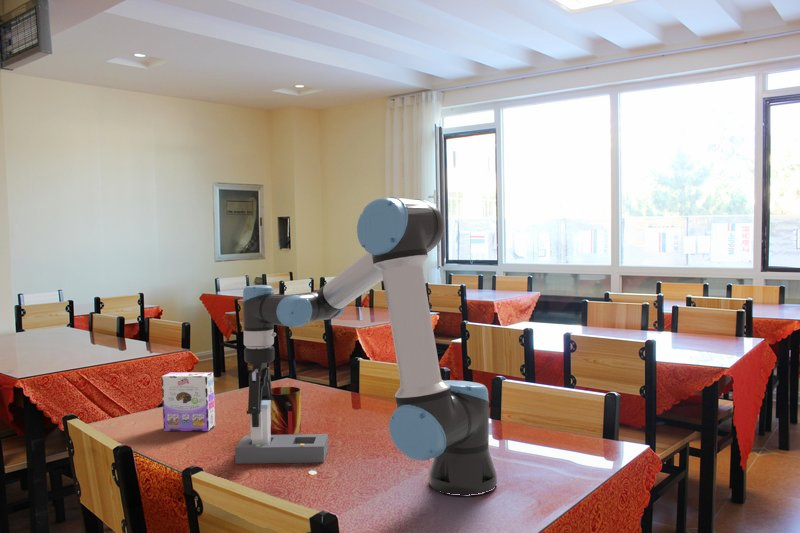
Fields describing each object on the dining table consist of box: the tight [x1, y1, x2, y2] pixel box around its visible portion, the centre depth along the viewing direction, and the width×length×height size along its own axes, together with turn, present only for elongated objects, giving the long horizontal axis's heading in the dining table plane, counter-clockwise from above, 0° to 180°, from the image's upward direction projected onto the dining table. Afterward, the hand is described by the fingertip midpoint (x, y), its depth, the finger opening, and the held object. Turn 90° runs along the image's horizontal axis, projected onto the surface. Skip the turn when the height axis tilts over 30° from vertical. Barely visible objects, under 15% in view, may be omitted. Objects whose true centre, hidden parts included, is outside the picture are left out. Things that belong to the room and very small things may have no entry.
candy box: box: [161, 371, 216, 432], centre depth 188 cm, size 14×6×16 cm, turn 84°
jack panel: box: [234, 433, 329, 464], centre depth 163 cm, size 10×22×4 cm, turn 90°
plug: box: [252, 400, 271, 445], centre depth 163 cm, size 4×4×14 cm
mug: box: [270, 386, 302, 435], centre depth 183 cm, size 10×14×12 cm
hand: (261, 432), depth 163 cm, fingers open, 10 cm apart
